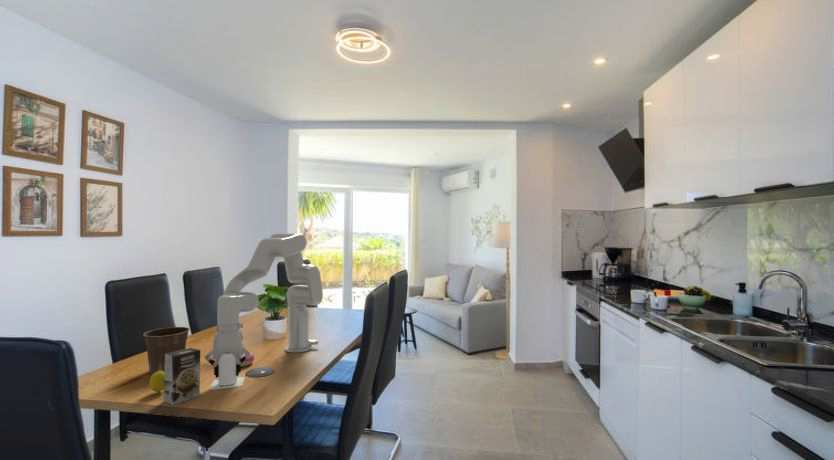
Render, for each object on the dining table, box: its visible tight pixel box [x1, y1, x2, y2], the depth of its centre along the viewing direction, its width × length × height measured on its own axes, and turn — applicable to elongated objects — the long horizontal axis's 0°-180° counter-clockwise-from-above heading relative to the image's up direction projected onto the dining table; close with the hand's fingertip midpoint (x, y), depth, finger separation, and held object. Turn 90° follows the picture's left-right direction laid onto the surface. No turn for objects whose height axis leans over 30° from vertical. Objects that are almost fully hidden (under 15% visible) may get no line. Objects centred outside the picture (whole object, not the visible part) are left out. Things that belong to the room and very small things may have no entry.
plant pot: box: [142, 326, 190, 375], centre depth 162 cm, size 16×16×16 cm
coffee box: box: [163, 347, 201, 406], centre depth 134 cm, size 9×6×16 cm
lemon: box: [149, 370, 164, 394], centre depth 139 cm, size 6×6×8 cm
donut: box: [240, 351, 255, 368], centre depth 169 cm, size 14×13×5 cm
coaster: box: [245, 366, 276, 378], centre depth 160 cm, size 11×11×1 cm
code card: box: [208, 376, 246, 391], centre depth 148 cm, size 11×10×1 cm
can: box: [217, 353, 238, 386], centre depth 148 cm, size 6×6×12 cm
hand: (227, 375), depth 148 cm, fingers closed on can, 6 cm apart
